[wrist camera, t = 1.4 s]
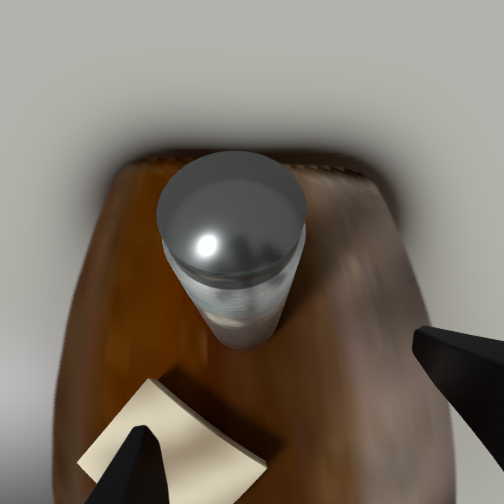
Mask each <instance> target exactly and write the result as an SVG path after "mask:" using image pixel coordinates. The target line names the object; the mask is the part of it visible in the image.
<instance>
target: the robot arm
mask: <svg viewBox="0 0 504 504" xmlns="http://www.w3.org/2000/svg"><path fill="white" fill-rule="evenodd" d="M412 351H413V354H414V356H415V357H416V359H417V360H418V361H419V363H420V364H421V366H422V367H423V369H424V370H425V372H426V373H427V374H428V376H429V377H430V379H431V380H432V382H433V383H434V384H435V386H436V387H437V388H438V389H439V391H440V392H441V393H442V394H443V395H444V396H445V398H446V399H447V400H448V401H449V402H450V404H451V405H452V406H453V407H454V408H455V409H456V411H457V412H458V413H459V414H460V415H461V417H462V418H463V419H464V421H465V422H466V423H467V424H468V426H469V427H470V428H471V429H472V430H473V432H474V433H475V434H476V436H477V437H478V438H479V439H480V441H481V442H482V443H483V444H484V446H485V447H486V448H487V450H488V451H489V452H490V454H491V455H492V456H493V458H494V459H495V460H496V462H497V463H498V464H499V466H500V467H501V468H502V470H503V471H504V341H500V340H495V339H489V338H484V337H479V336H473V335H469V334H464V333H459V332H454V331H449V330H444V329H439V328H435V327H430V326H422V327H420V328H418V329H416V330H415V332H414V335H413V344H412ZM84 504H170V500H169V490H168V483H167V478H166V473H165V468H164V463H163V458H162V453H161V447H160V443H159V441H158V439H157V438H156V436H155V435H154V434H153V432H152V431H151V430H150V429H149V427H148V426H146V425H139V426H134V427H133V428H132V429H131V431H130V433H129V434H128V436H127V437H126V439H125V440H124V442H123V443H122V445H121V447H120V448H119V450H118V451H117V453H116V454H115V456H114V457H113V459H112V461H111V462H110V464H109V465H108V467H107V468H106V470H105V472H104V473H103V475H102V476H101V478H100V479H99V481H98V482H97V484H96V486H95V487H94V489H93V490H92V492H91V493H90V495H89V497H88V498H87V500H86V501H85V503H84Z"/></svg>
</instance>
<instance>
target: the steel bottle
mask: <svg viewBox="0 0 504 504" xmlns="http://www.w3.org/2000/svg"><path fill="white" fill-rule="evenodd" d="M305 218H306V200H305V196H304V193H303V190H302V188H301V186H300V184H299V182H298V181H297V179H296V178H295V177H294V176H293V174H292V173H291V172H290V171H289V170H288V169H286V168H285V167H284V166H282V165H281V164H280V163H278V162H276V161H274V160H272V159H270V158H268V157H266V156H262V155H260V154H256V153H251V152H244V151H226V152H219V153H214V154H210V155H207V156H204V157H201V158H199V159H197V160H195V161H193V162H191V163H189V164H188V165H186V166H184V167H183V168H182V169H181V170H179V171H178V172H177V173H176V174H175V175H174V176H173V177H172V178H171V179H170V181H169V182H168V183H167V185H166V186H165V188H164V189H163V191H162V194H161V196H160V198H159V202H158V206H157V224H158V229H159V231H160V234H161V237H162V244H163V248H164V252H165V255H166V258H167V260H168V262H169V263H170V265H171V267H172V269H173V270H174V272H175V274H176V275H177V277H178V279H179V280H180V282H181V283H182V285H183V287H184V288H185V290H186V292H187V293H188V295H189V296H190V298H191V300H192V301H193V303H194V304H195V306H196V307H197V309H198V310H199V312H200V314H201V315H202V317H203V318H204V320H205V321H206V323H207V324H208V326H209V327H210V329H211V330H212V332H213V333H214V335H215V336H216V338H217V339H218V340H219V341H220V342H221V343H223V344H224V345H226V346H228V347H230V348H232V349H236V350H251V349H255V348H258V347H260V346H262V345H263V344H265V343H266V342H267V341H268V340H269V339H270V338H271V337H272V335H273V334H274V332H275V330H276V327H277V324H278V322H279V319H280V316H281V313H282V310H283V308H284V305H285V302H286V299H287V296H288V293H289V290H290V287H291V284H292V281H293V278H294V275H295V272H296V269H297V266H298V263H299V260H300V257H301V254H302V251H303V247H304V243H305V237H306V227H305Z"/></svg>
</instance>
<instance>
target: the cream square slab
mask: <svg viewBox="0 0 504 504" xmlns="http://www.w3.org/2000/svg"><path fill="white" fill-rule="evenodd" d="M139 425H146V426H148V427H149V429H150V430H151V431H152V432H153V434H154V435H155V436H156V438H157V439H158V441H159V443H160V447H161V453H162V458H163V463H164V468H165V473H166V478H167V483H168V490H169V500H170V504H233V503H234V502H235V501H236V500H237V499H238V498H239V497H240V496H241V495H242V494H243V493H244V492H245V491H246V490H247V489H248V488H249V487H250V486H251V485H252V484H253V483H254V482H255V481H256V480H257V479H258V478H259V477H260V475H261V474H262V473H263V472H264V471H265V470H266V469H267V466H266V461H264V460H263V459H261V458H259V457H258V456H256V455H255V454H253V453H252V452H250V451H249V450H247V449H245V448H244V447H242V446H241V445H239V444H238V443H237V442H235V441H234V440H232V439H231V438H229V437H228V436H226V435H225V434H224V433H222V432H221V431H220V430H218V429H217V428H215V427H214V426H213V425H211V424H210V423H209V422H207V421H206V420H205V419H204V418H202V417H201V416H200V415H198V414H197V413H196V412H195V411H193V410H192V409H191V408H190V407H188V406H187V405H186V404H185V403H183V402H182V401H181V400H180V399H179V398H178V397H176V396H175V395H174V394H173V393H172V392H170V391H169V390H168V389H167V388H166V387H165V386H164V385H163V384H161V383H160V382H159V381H158V380H155V379H149V378H148V379H147V380H146V382H145V383H144V384H143V385H142V386H141V388H140V389H139V390H138V391H137V392H136V393H135V395H134V396H133V397H132V398H131V399H130V401H129V402H128V403H127V404H126V405H125V406H124V408H123V409H122V410H121V411H120V412H119V414H118V415H117V416H116V417H115V418H114V419H113V421H112V422H111V423H110V424H109V425H108V427H107V428H106V429H105V430H104V431H103V432H102V434H101V435H100V436H99V437H98V438H97V440H96V441H95V442H94V443H93V444H92V445H91V447H90V448H89V449H88V450H87V451H86V453H85V454H84V455H83V456H82V457H81V458H80V460H79V461H78V462H77V463H78V464H79V465H80V466H81V468H82V469H83V470H84V471H85V472H86V473H87V474H88V475H89V476H90V477H91V478H92V479H93V480H94V481H95V482H96V483H97V482H98V481H99V479H100V478H101V476H102V475H103V473H104V472H105V470H106V468H107V467H108V465H109V464H110V462H111V461H112V459H113V457H114V456H115V454H116V453H117V451H118V450H119V448H120V447H121V445H122V443H123V442H124V440H125V439H126V437H127V436H128V434H129V433H130V431H131V429H132V428H133V427H134V426H139Z"/></svg>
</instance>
